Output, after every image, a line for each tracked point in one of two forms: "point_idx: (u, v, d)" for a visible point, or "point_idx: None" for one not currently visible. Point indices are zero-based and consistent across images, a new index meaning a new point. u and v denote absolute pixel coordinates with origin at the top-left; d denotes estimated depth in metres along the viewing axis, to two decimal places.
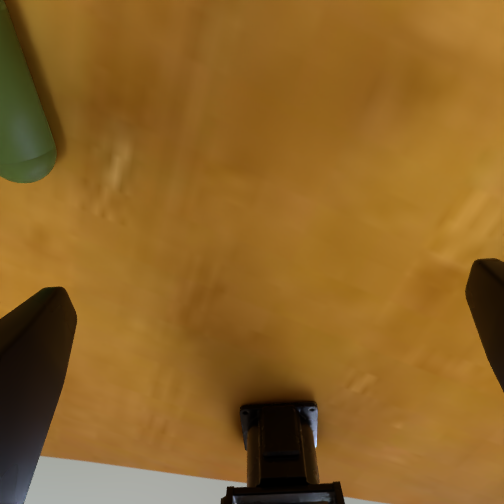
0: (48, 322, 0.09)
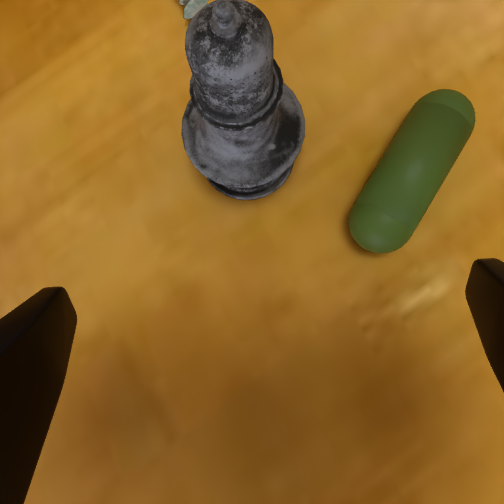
0: (48, 322, 0.09)
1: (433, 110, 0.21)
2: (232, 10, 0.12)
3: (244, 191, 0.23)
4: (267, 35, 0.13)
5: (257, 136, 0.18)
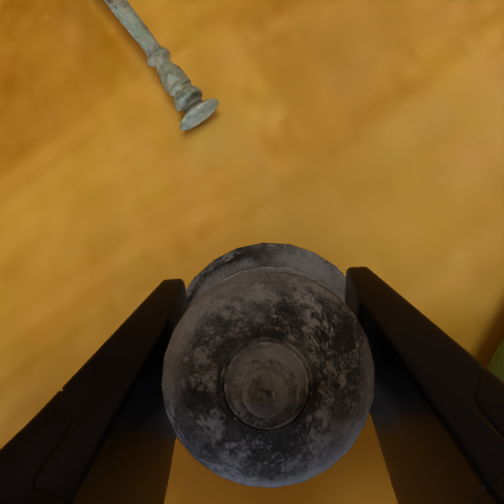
0: (177, 314, 0.08)
1: None
2: (290, 392, 0.04)
3: None
4: (367, 387, 0.05)
5: None
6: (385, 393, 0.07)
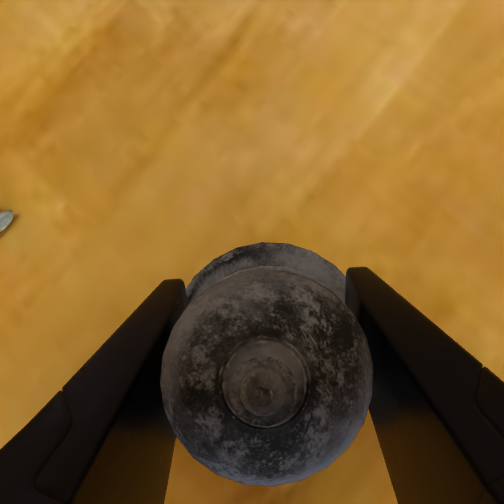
0: (178, 314, 0.08)
1: None
2: (288, 390, 0.04)
3: None
4: (366, 385, 0.05)
5: None
6: (385, 393, 0.07)
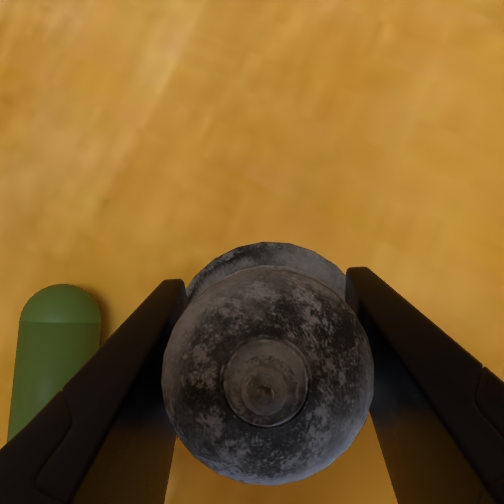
0: (177, 314, 0.08)
1: (25, 333, 0.17)
2: (289, 390, 0.04)
3: None
4: (367, 385, 0.05)
5: None
6: (385, 393, 0.07)
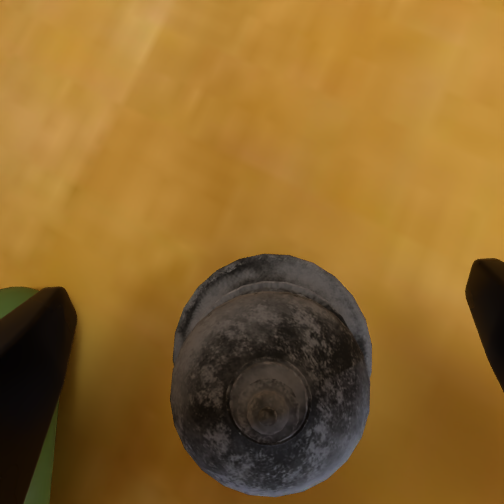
0: (48, 322, 0.09)
1: None
2: (291, 410, 0.05)
3: None
4: (363, 402, 0.06)
5: None
6: None
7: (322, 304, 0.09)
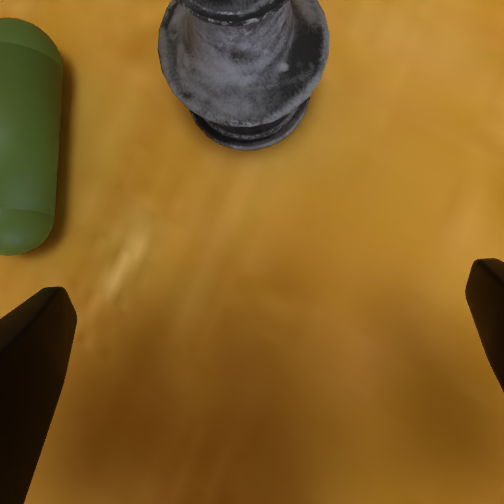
0: (48, 322, 0.09)
1: None
2: None
3: (243, 138, 0.18)
4: None
5: (263, 45, 0.13)
6: None
7: None
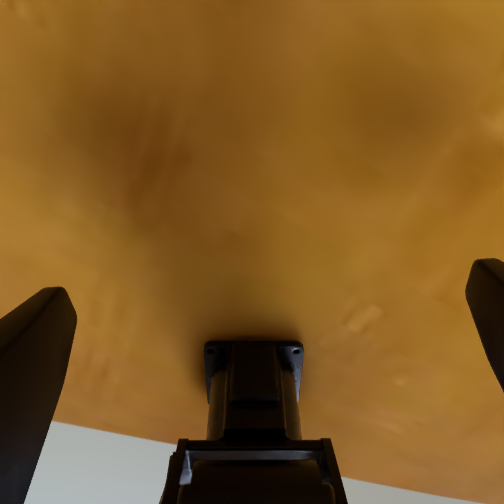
0: (48, 322, 0.09)
1: None
2: None
3: None
4: None
5: None
6: None
7: None
